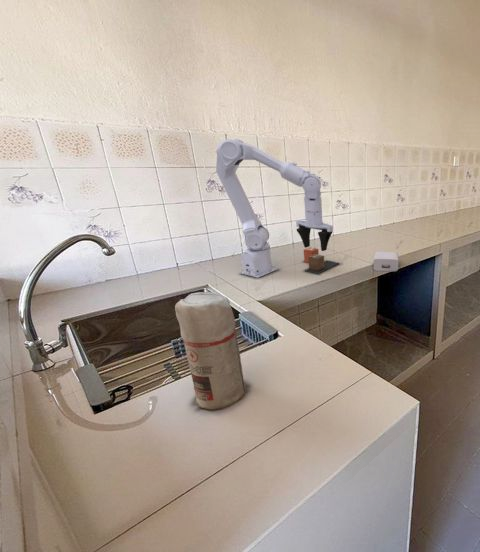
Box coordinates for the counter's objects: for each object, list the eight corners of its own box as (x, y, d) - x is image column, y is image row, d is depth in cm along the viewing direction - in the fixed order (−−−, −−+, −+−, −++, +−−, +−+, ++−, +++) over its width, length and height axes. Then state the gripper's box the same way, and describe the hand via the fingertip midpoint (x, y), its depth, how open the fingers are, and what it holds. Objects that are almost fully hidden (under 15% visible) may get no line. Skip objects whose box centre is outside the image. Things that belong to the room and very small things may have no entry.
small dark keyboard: (318, 274, 119) (318, 273, 119) (305, 271, 122) (304, 270, 122) (339, 264, 130) (339, 263, 130) (326, 261, 133) (326, 260, 133)
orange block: (312, 263, 130) (311, 251, 128) (304, 261, 131) (303, 249, 129) (319, 260, 134) (319, 248, 132) (311, 258, 135) (311, 246, 133)
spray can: (189, 393, 61) (166, 294, 54) (236, 374, 67) (220, 282, 60) (204, 419, 56) (180, 313, 49) (253, 396, 61) (238, 298, 54)
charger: (397, 258, 139) (398, 271, 125) (375, 258, 139) (373, 270, 125) (397, 248, 137) (398, 259, 123) (375, 247, 137) (373, 258, 123)
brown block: (317, 271, 121) (317, 258, 119) (309, 269, 122) (308, 256, 120) (324, 268, 124) (324, 255, 122) (315, 266, 125) (315, 253, 124)
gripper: (337, 211, 116) (338, 249, 121) (304, 207, 122) (306, 242, 127) (325, 214, 110) (326, 254, 115) (290, 209, 116) (293, 247, 121)
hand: (315, 248), depth 120 cm, fingers open, 7 cm apart
